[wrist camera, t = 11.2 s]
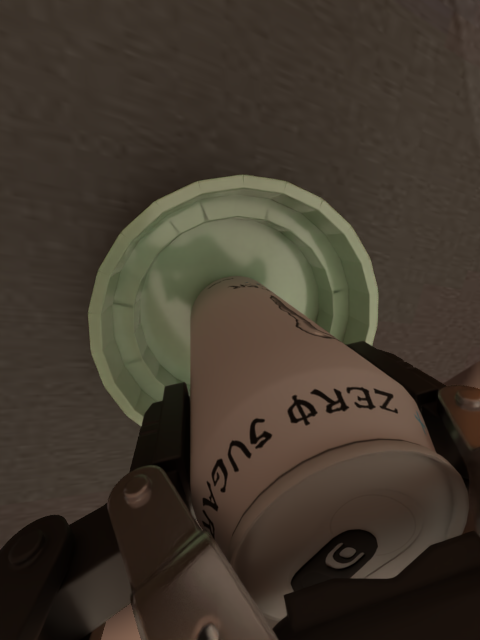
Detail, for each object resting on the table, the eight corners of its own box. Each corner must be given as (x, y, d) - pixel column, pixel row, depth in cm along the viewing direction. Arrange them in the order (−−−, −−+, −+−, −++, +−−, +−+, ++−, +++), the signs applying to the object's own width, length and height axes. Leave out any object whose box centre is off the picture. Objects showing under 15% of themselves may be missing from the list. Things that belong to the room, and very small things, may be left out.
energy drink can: (289, 308, 20) (543, 501, 6) (237, 368, 20) (344, 671, 6) (227, 254, 18) (375, 344, 4) (172, 323, 18) (114, 621, 4)
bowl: (79, 212, 16) (32, 204, 11) (331, 174, 18) (381, 153, 13) (151, 427, 21) (140, 481, 17) (338, 380, 23) (376, 418, 18)
